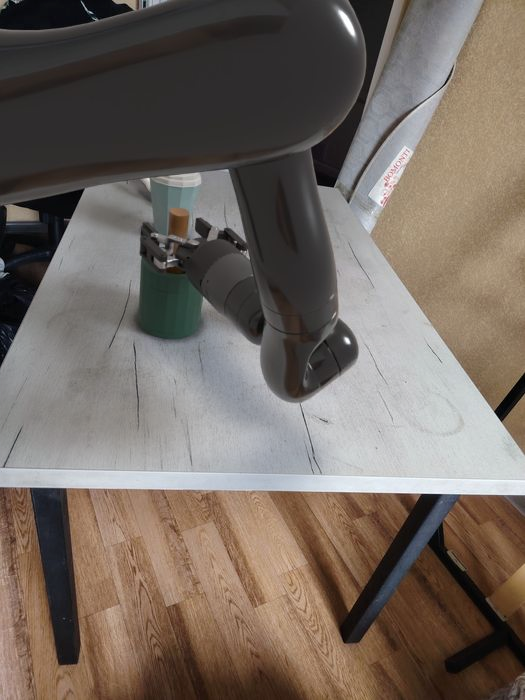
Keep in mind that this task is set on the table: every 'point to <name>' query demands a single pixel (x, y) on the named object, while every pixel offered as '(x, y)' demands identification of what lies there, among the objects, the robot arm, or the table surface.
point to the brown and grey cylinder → (177, 231)
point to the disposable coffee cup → (172, 197)
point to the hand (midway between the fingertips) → (171, 225)
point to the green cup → (168, 303)
